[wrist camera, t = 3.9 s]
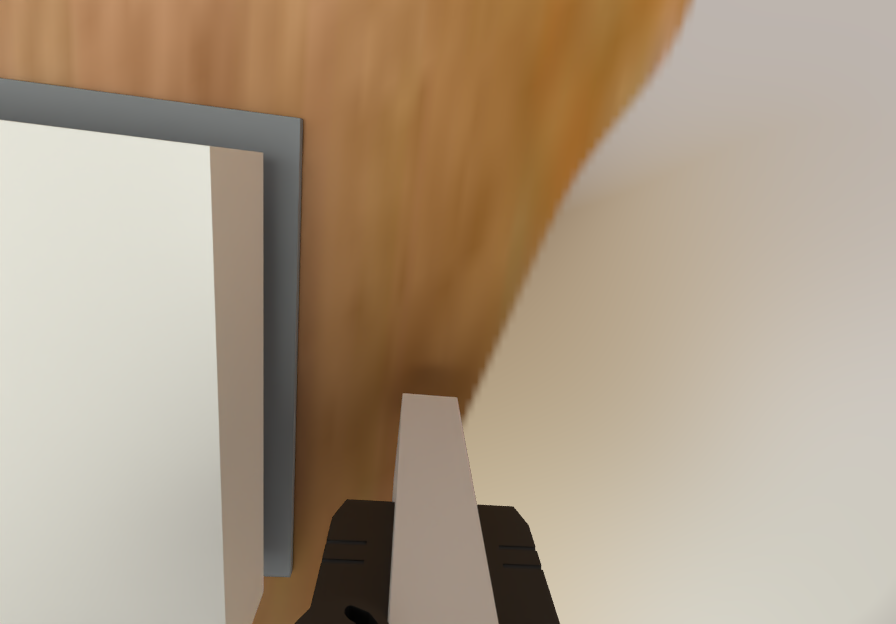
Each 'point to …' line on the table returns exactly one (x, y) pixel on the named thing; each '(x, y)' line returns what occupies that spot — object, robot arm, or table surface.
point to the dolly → (129, 379)
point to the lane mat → (280, 246)
